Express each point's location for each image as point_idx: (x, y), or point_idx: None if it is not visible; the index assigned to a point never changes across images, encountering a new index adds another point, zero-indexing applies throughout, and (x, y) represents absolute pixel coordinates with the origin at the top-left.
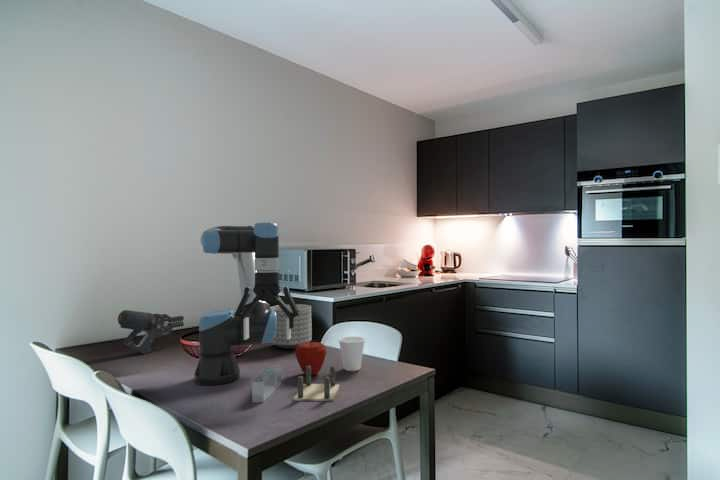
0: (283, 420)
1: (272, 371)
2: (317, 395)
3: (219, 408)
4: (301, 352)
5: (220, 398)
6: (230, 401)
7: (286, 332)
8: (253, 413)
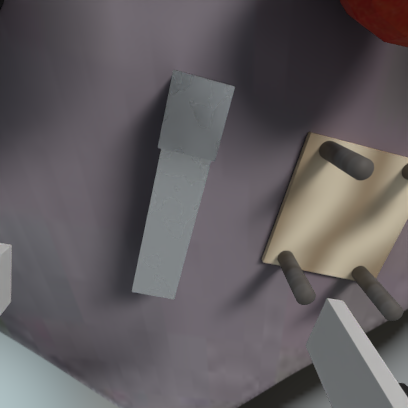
0: (232, 361)
1: (197, 182)
2: (336, 251)
3: (55, 281)
4: (378, 15)
5: (26, 206)
6: (70, 236)
7: (325, 390)
8: (158, 321)
